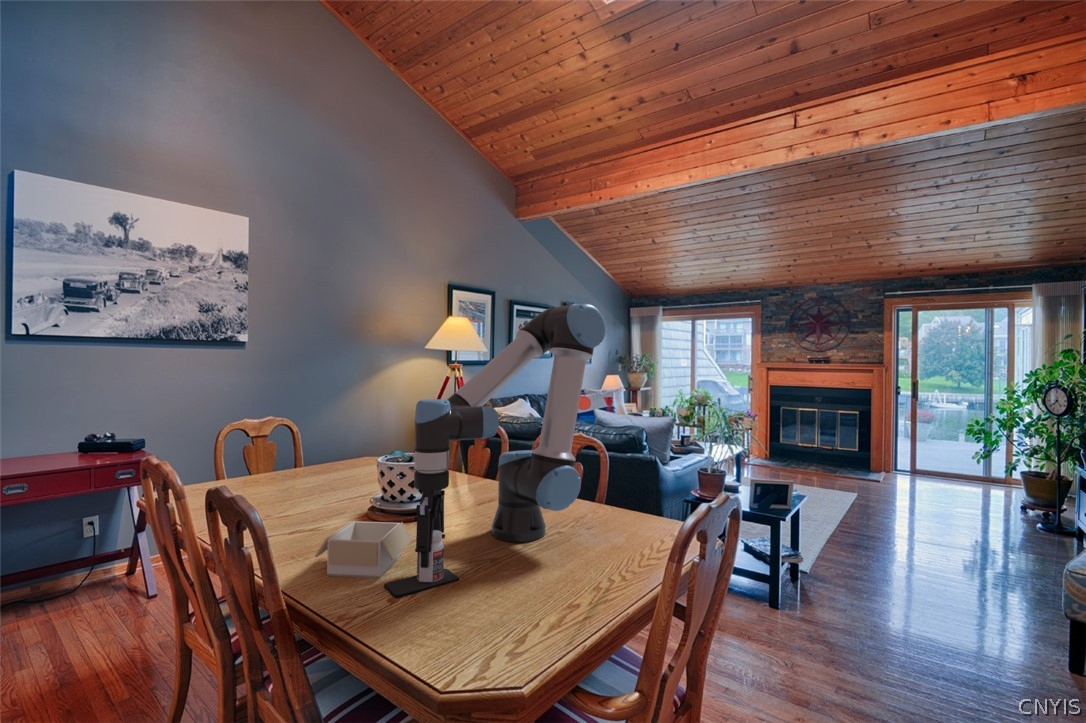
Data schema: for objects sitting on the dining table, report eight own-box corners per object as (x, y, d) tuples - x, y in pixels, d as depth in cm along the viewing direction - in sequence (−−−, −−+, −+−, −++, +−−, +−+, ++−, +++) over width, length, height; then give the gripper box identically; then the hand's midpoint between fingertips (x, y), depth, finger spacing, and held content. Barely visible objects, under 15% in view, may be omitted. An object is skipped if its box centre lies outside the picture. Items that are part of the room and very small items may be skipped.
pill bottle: (436, 585, 105) (437, 539, 105) (412, 582, 106) (412, 536, 106) (447, 574, 110) (448, 530, 111) (424, 571, 112) (424, 528, 112)
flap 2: (400, 522, 121) (410, 540, 121) (380, 540, 108) (391, 560, 108) (402, 521, 121) (412, 539, 120) (382, 539, 108) (393, 559, 108)
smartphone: (461, 578, 108) (395, 596, 98) (461, 582, 108) (395, 601, 98) (445, 567, 114) (382, 583, 104) (445, 571, 114) (381, 587, 104)
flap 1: (352, 520, 122) (341, 536, 122) (326, 537, 109) (314, 556, 109) (353, 521, 122) (342, 537, 122) (328, 538, 109) (316, 557, 109)
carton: (401, 554, 121) (401, 522, 121) (379, 579, 108) (379, 542, 108) (354, 552, 122) (354, 520, 122) (326, 576, 108) (326, 540, 108)
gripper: (427, 460, 118) (426, 557, 118) (400, 478, 99) (398, 593, 99) (458, 461, 118) (457, 558, 117) (436, 479, 99) (434, 595, 99)
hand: (430, 574), depth 108 cm, fingers closed on pill bottle, 6 cm apart
